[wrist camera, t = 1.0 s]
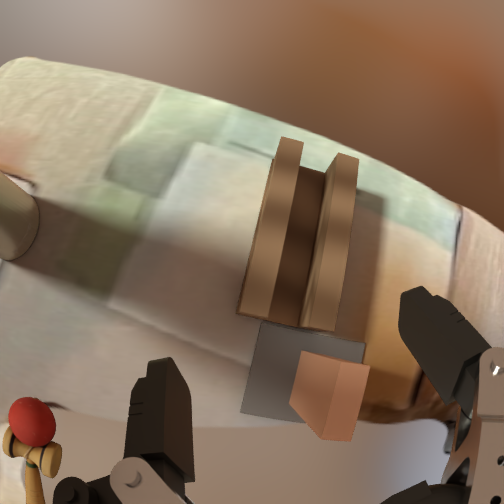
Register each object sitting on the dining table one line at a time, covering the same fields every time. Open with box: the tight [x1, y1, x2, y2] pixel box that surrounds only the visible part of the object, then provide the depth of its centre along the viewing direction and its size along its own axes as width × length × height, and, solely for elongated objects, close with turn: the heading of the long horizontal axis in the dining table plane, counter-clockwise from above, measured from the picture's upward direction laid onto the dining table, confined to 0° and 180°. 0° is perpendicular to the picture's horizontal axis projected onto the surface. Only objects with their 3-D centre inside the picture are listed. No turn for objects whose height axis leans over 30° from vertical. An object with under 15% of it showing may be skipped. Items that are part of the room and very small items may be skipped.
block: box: [289, 351, 370, 441], centre depth 27 cm, size 6×2×12 cm, turn 167°
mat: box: [240, 323, 365, 423], centre depth 33 cm, size 10×12×1 cm
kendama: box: [3, 397, 62, 504], centre depth 25 cm, size 8×6×18 cm
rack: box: [236, 136, 359, 332], centre depth 33 cm, size 18×9×6 cm, turn 167°
